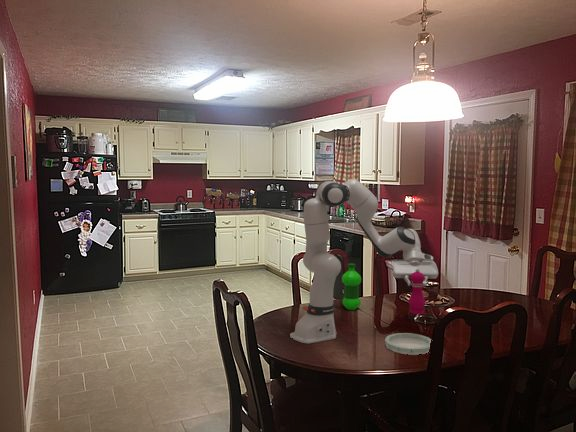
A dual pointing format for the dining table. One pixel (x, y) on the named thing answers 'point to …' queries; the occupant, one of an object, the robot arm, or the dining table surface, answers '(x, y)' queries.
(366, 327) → the dining table surface
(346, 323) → the dining table surface
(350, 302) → the plastic bottle
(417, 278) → the pepper mill
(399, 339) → the round dish
